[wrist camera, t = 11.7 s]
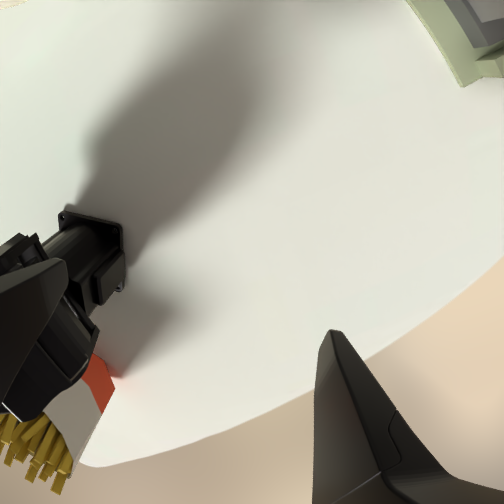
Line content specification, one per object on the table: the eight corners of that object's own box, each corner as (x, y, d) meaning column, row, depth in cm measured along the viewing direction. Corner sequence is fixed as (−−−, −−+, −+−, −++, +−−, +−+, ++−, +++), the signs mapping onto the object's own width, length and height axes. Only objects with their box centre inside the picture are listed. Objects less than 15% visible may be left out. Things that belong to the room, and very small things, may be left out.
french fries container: (50, 318, 30) (-32, 431, 14) (124, 372, 32) (62, 500, 17) (46, 337, 32) (-25, 440, 17) (114, 385, 34) (59, 500, 19)
